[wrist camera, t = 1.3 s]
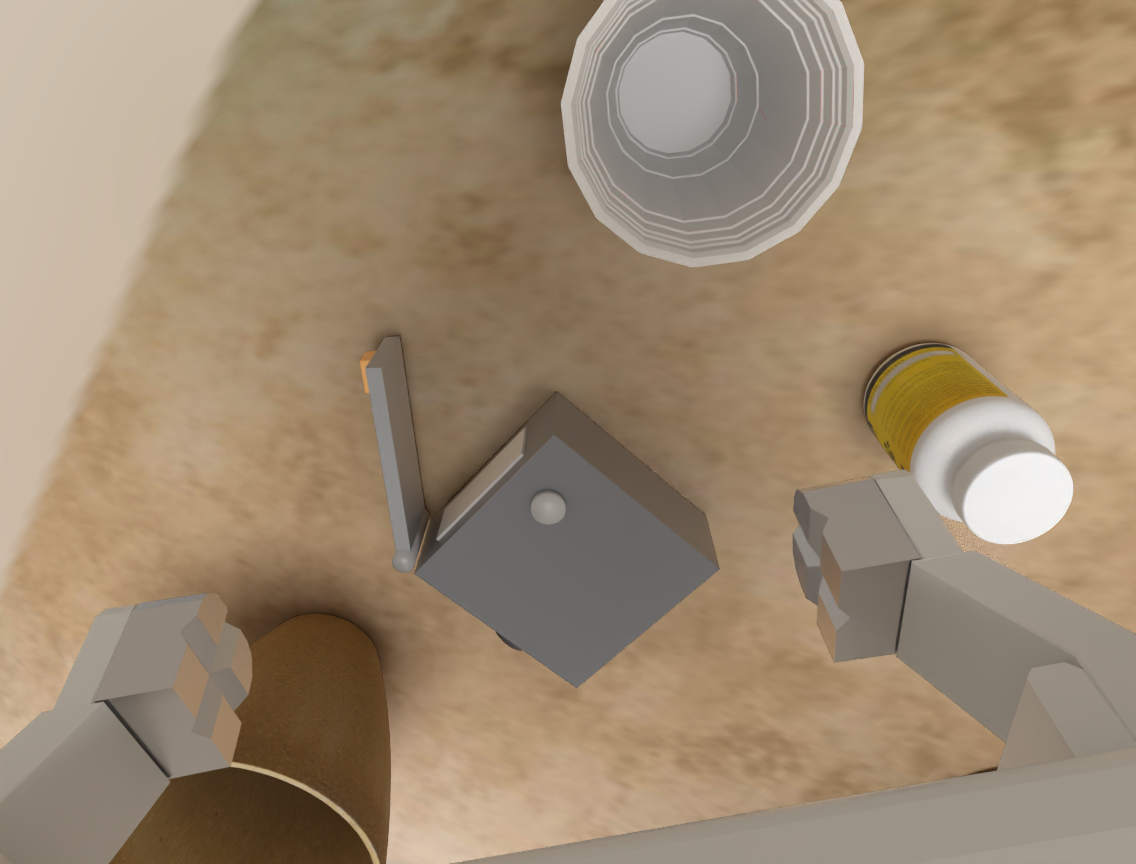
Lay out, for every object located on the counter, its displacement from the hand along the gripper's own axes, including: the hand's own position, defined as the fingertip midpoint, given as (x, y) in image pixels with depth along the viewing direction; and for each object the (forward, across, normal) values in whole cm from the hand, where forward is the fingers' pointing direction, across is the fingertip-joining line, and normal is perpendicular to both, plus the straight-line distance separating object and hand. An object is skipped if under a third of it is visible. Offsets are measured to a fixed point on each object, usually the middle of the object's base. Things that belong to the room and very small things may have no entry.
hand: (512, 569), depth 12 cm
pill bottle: (+28, +20, -21) cm, 41 cm away
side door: (+30, -9, -19) cm, 37 cm away
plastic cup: (+33, +9, -4) cm, 34 cm away
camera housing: (+28, 0, -26) cm, 39 cm away
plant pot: (+28, -18, -34) cm, 48 cm away
